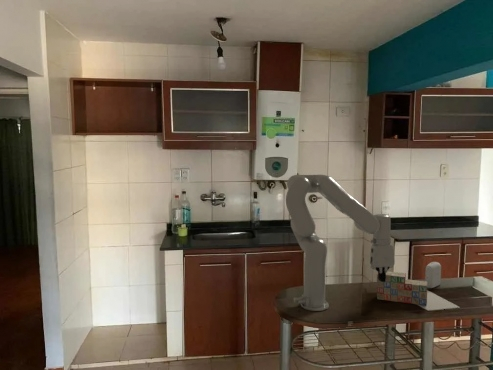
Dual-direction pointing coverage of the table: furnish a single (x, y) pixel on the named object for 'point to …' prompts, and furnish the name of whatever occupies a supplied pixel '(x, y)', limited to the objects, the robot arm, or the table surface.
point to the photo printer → (433, 274)
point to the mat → (437, 303)
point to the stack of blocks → (402, 289)
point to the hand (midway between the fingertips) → (381, 280)
